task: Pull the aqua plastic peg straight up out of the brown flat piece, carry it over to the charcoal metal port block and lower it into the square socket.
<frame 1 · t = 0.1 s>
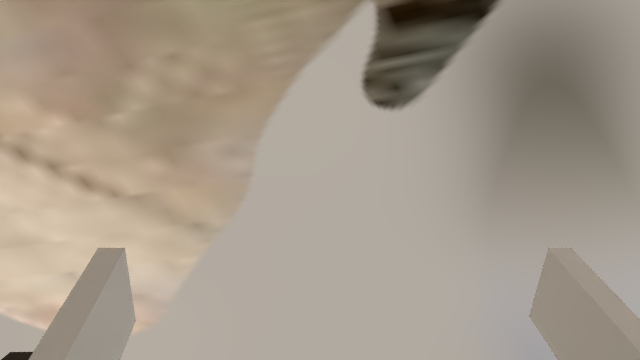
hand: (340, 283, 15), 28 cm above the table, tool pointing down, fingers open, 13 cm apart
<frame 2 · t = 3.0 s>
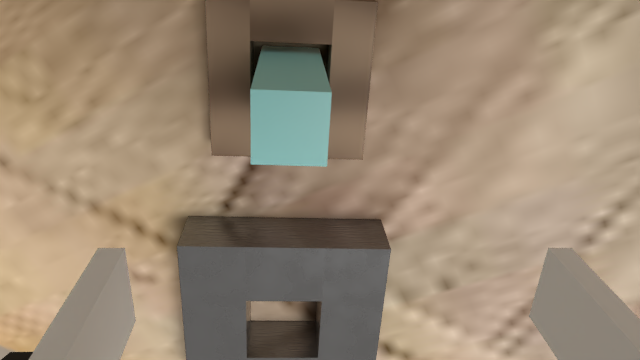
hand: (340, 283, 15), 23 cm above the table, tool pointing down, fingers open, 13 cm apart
peg: (290, 97, 30), in the brown flat piece
brown flat piece: (290, 74, 36), on the table
port: (283, 295, 44), on the table
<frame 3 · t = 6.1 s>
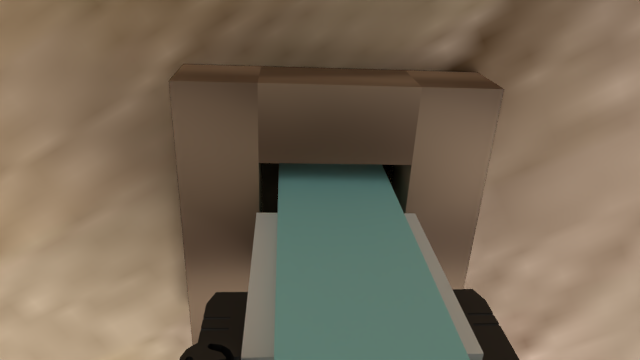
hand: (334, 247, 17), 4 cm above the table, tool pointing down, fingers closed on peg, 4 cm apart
peg: (341, 288, 15), in the brown flat piece, touching gripper
brown flat piece: (326, 199, 21), on the table
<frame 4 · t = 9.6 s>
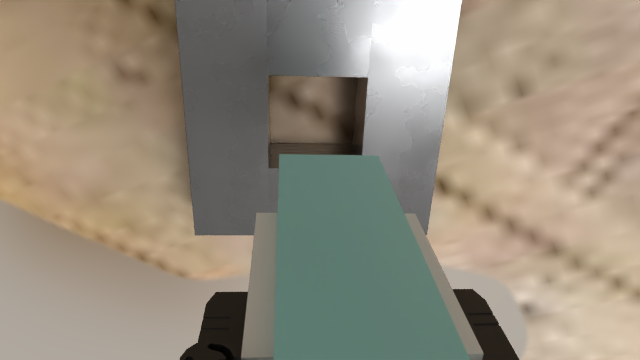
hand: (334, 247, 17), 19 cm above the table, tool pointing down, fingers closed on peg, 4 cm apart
peg: (341, 288, 15), point 21 cm above the table, touching gripper
port: (313, 103, 34), on the table
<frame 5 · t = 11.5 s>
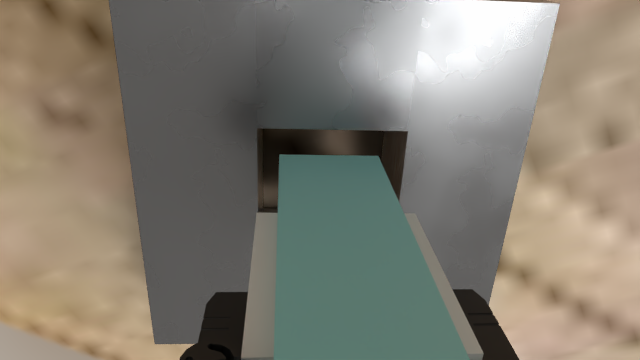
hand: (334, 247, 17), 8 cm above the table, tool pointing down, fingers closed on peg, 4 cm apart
peg: (341, 288, 15), point 11 cm above the table, touching gripper
port: (322, 156, 25), on the table
when the fingers open (6 cm above the table, at t = 12.9 s): peg drops 2 cm, resting in port.
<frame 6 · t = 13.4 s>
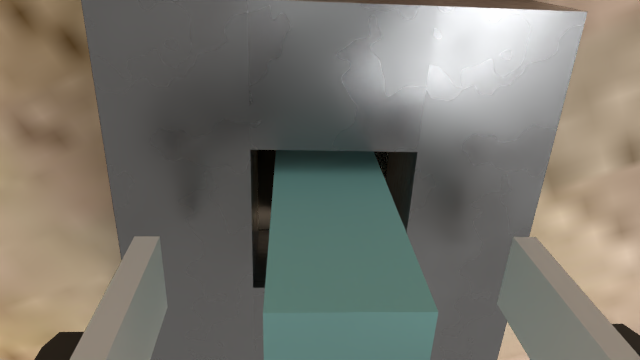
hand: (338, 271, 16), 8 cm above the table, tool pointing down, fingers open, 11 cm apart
peg: (329, 243, 17), in the port
port: (322, 174, 23), on the table
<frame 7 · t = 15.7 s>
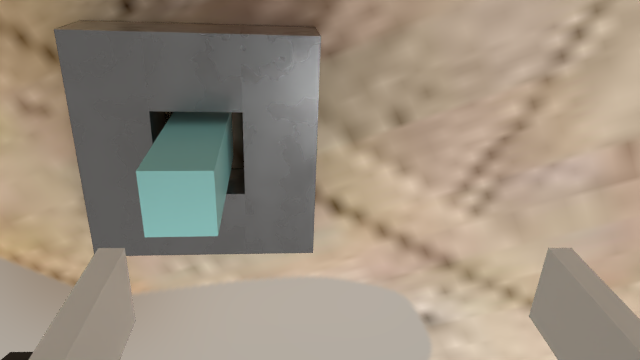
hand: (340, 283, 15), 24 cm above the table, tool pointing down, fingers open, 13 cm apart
peg: (194, 162, 32), in the port
port: (207, 132, 37), on the table
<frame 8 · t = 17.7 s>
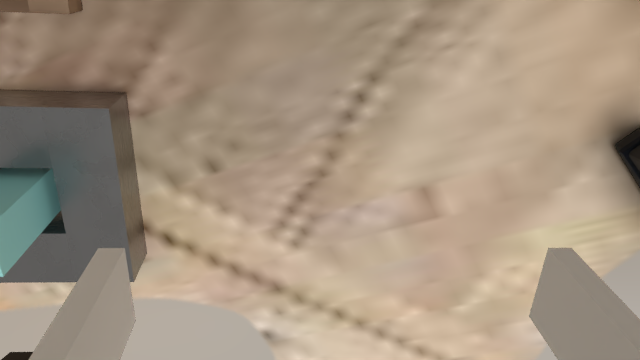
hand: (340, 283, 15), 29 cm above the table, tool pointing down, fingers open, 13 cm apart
peg: (10, 209, 38), in the port
port: (45, 178, 44), on the table
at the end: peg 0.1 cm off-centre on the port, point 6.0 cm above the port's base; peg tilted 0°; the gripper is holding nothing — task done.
